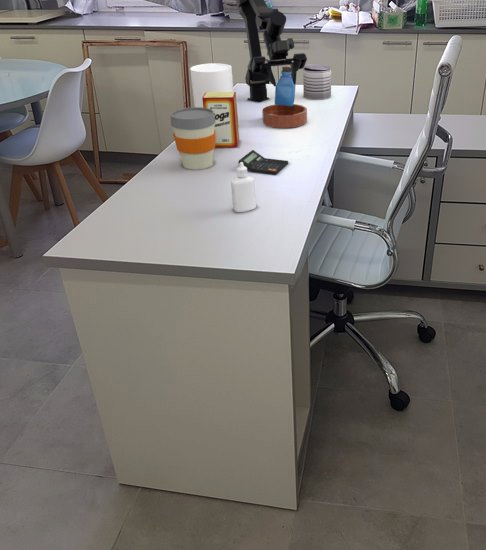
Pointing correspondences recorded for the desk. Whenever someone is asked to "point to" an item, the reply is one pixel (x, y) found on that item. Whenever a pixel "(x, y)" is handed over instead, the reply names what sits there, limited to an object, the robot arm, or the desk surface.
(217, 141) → the baking soda box
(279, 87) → the perfume bottle
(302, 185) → the desk surface
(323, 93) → the can
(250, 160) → the calculator
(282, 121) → the bowl
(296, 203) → the desk surface
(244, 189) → the eye dropper bottle
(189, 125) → the reusable coffee cup
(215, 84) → the canister
